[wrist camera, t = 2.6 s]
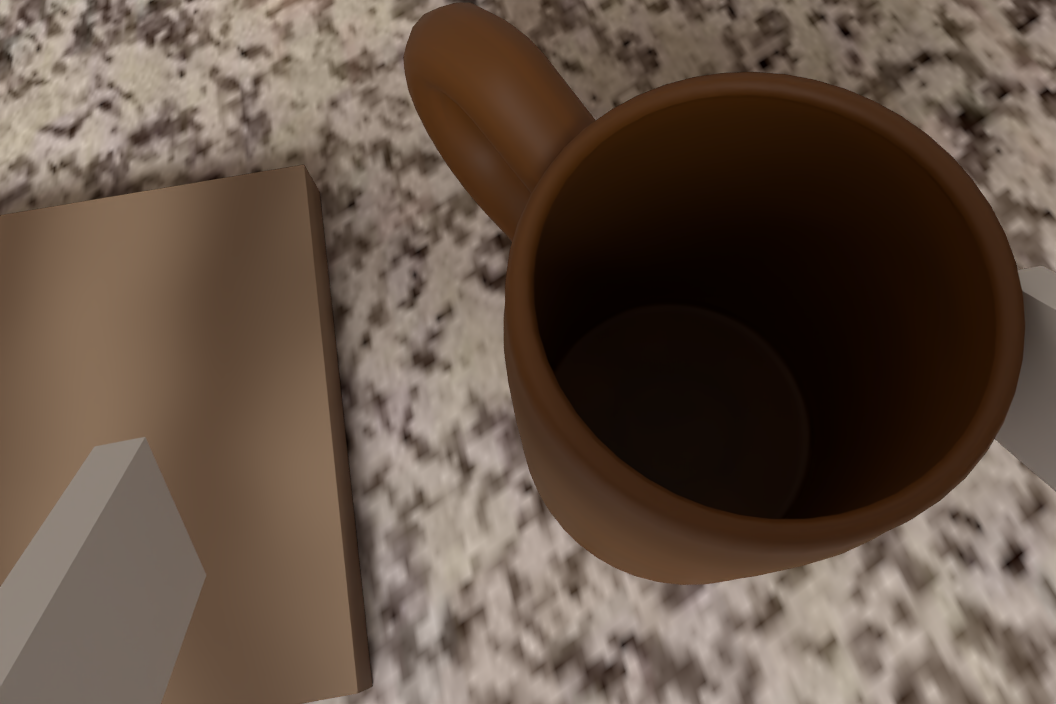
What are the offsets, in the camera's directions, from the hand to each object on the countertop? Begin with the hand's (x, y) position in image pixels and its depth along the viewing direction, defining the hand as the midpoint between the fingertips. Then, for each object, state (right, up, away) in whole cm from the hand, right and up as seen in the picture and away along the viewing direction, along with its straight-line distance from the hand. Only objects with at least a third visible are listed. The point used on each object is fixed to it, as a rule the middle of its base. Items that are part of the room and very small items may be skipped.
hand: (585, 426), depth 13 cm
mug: (+1, +1, +8) cm, 8 cm away
